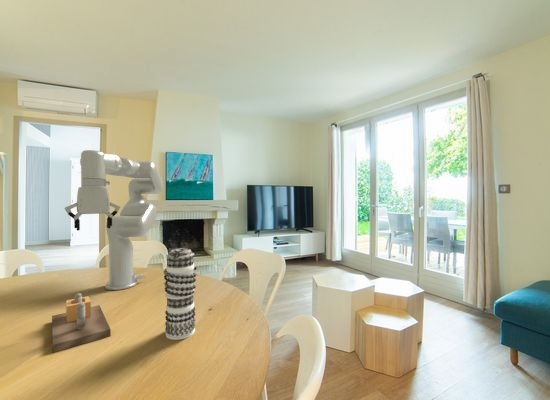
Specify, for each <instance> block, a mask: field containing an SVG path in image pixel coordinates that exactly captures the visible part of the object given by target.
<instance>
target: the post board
mask: <svg viewBox="0 0 550 400" xmlns="http://www.w3.org/2000/svg"><path fill="white" fill-rule="evenodd" d="M82 297H83V294H82V293H79V292H78V293H76V294H75V295H74V297H73V299H74V304H75V303H79V304H78V305H77V320H76V321H72V322H68V323H67V318H66V312H63V313H58V314H54V315H51V334H52V353H56V352H60V351H63V350H67V349H70V348H74V347H77V346H79V345H80V346H81V345H84V344H88V343H91V342H95V341H97V340H101V339H104V338H108V337H111V336H112V335H111V334H112V333H111V327H110V325H109V323H108V321H107V319H106V316H105V314H104V311H103V310H102V307H101V305H94V306H91V317H89V318H85V304H84V303H80V302H82Z"/></svg>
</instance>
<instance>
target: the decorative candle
mask: <svg viewBox="0 0 550 400" xmlns="http://www.w3.org/2000/svg"><path fill="white" fill-rule="evenodd" d="M194 256H195V253H194V252H193V251H192V249H190V248H188V247H180V248H173V249H171V250H170V251H169V253H168V254H166V255H165V257H166V265H165V266H166V267H165V269H164V270H163V274H164V276H163V278H164V281H165V282H164V292H165V298H166V307H165V308H166V310H165V312H164V313H165V323H164V326H165V329H164V330H165V337H166V338H167V339H169V340H172V341H173V340H175V341H177V340H184V339H187V338H189V337H191V336H193V334H194V333H195V331H196V328H195V327H196V312H195V311H196V308H195V301H194V298H195V297H194V295H195V293H196V290H195V289H196V287H197V285H196V284H194V283H195V282H196V281H197V279H196V276H197V273H195V272H194V271H196V270H197V266H195V263H194V259H195V258H194Z"/></svg>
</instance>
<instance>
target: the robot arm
mask: <svg viewBox="0 0 550 400" xmlns="http://www.w3.org/2000/svg"><path fill="white" fill-rule="evenodd" d="M80 153H81V154H80V159H79V164H80V179H81V180H80V183H81V185H80V186H79V187H78V189H77V194H76V195H77V196H76V202H75V203H72V204H70V205H68V206H65V207H64V211H65V212H66V213H67V215H68V216H70V217H71V219H73V220H74V221H73V222H74V229H76V231H80V230H81V228H80V227H81V224H80V222H81V220H80V217H81V216H82V215H95V214H98V215H99V214H101V215H102V214H105V215H106V216H107V218H106V225H105V229H106V234H107V238H108V239H107V240H108V279H109V280H108V282H107V283H106V284H105V285H104V288H105V289H106V290H108V291H109V290H110V291H117V290H118V291H120V290H126V289H130V288H132V287H134V286H136V285H137V284H138V280H139V279H140V280H141V279H145V277H146V275H145V273H136V274H135V273H134V245H133V241H132V240H131V239H130V238H142V237H146V236H147V235H148V233H149V232H150V230H151V228H152V227H153V225H154V223H155V220H156V219H157V214H158V212H157V211H158V210H157V207H156V206H155V204H153V203H148V202H147V199H146V198H145V196H143V195H159V194H160V193H162V192H163V190H164V184H163V183H164V182H163V179H162V176H161V173H160V172H159V170H158V167H157V165H155V163H154V162H153V161H150V160H148V161H147V160H146V161H142V160H141V161H140V160H139V161H138V160H133V159H130V158H127V157H121V156H119V155H117V154H115V153H106V152H103V151H101V150H100V151H99V150H94V149H93V150H92V149H90V150H89V149H85V150H83V151H82V152H80ZM106 175H110V176H116V177H126V178H132V179H131V180H130V181H129V183H128V196H129V197H128V198H129V200H128V201H127V202H126V203H125V205H124V206H123V207H122V209H121V210H120V208H121V206H119V205H117V204H115V203H113V202H110V195H109V189H108V187H106V186H108V185H109V186H110V183H111V182H110V180H107V179H106ZM74 208H76V214H74V213H73V212H72V209H74ZM111 208H113V209H114V210H112V212H110V210H111ZM119 210H120V212H119ZM118 212H119V215H117V214H118Z"/></svg>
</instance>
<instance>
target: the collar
mask: <svg viewBox="0 0 550 400" xmlns="http://www.w3.org/2000/svg"><path fill="white" fill-rule="evenodd" d="M80 303H84V304H85V318H89V317H91V307H92V305H91V303H92V302H91V299H90V296H89V295H88V296H82V302H80ZM78 304H79V303H75V304H74V298H72V299H67V300H66V301H65V313H66V318H67V323H68V322H72V321H76V320H77V305H78Z"/></svg>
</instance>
